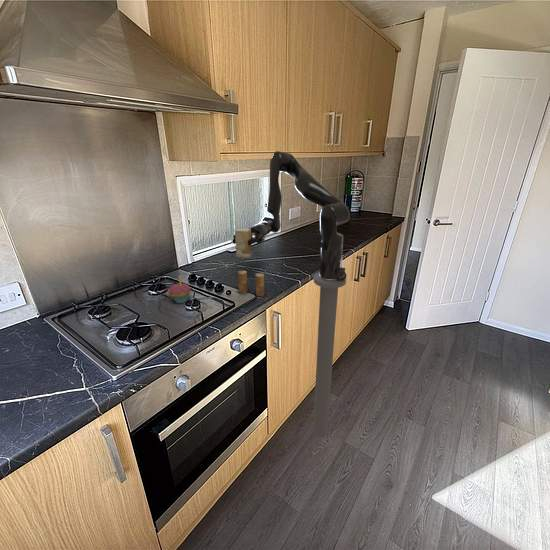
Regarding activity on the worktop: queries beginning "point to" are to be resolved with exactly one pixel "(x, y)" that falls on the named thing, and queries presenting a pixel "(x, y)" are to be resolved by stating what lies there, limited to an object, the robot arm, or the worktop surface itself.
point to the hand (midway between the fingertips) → (241, 242)
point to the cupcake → (179, 292)
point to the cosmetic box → (243, 242)
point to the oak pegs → (258, 278)
